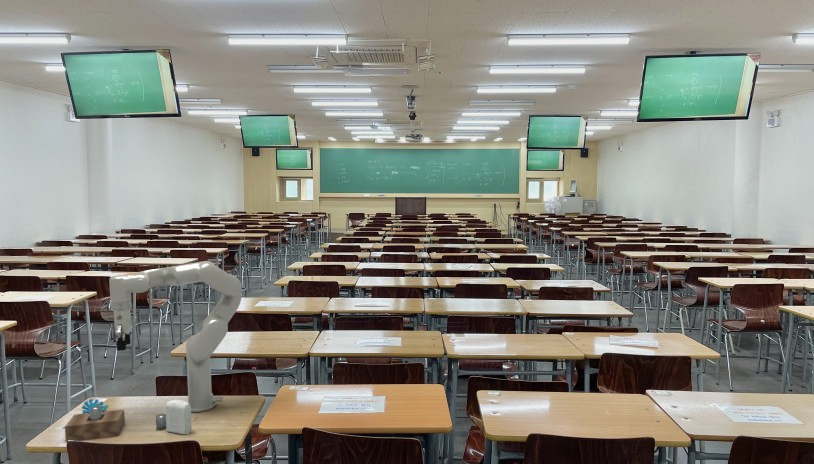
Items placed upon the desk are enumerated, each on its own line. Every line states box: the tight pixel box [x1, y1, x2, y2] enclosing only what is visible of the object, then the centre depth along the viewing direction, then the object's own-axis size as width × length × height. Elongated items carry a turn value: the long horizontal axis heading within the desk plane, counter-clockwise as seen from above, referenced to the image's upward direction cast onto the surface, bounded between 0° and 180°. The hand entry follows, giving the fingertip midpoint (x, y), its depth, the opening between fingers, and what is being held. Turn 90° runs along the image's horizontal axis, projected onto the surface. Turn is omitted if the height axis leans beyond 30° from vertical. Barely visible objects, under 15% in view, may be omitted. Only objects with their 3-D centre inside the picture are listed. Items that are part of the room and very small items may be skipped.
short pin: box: [155, 413, 166, 431], centre depth 226 cm, size 4×4×5 cm
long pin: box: [89, 405, 102, 421], centre depth 222 cm, size 4×4×10 cm
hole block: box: [64, 408, 126, 442], centre depth 222 cm, size 18×12×6 cm, turn 106°
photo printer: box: [165, 399, 193, 435], centre depth 222 cm, size 10×4×12 cm, turn 69°
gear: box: [81, 398, 110, 414], centre depth 238 cm, size 11×6×10 cm
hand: (123, 347), depth 234 cm, fingers open, 9 cm apart
